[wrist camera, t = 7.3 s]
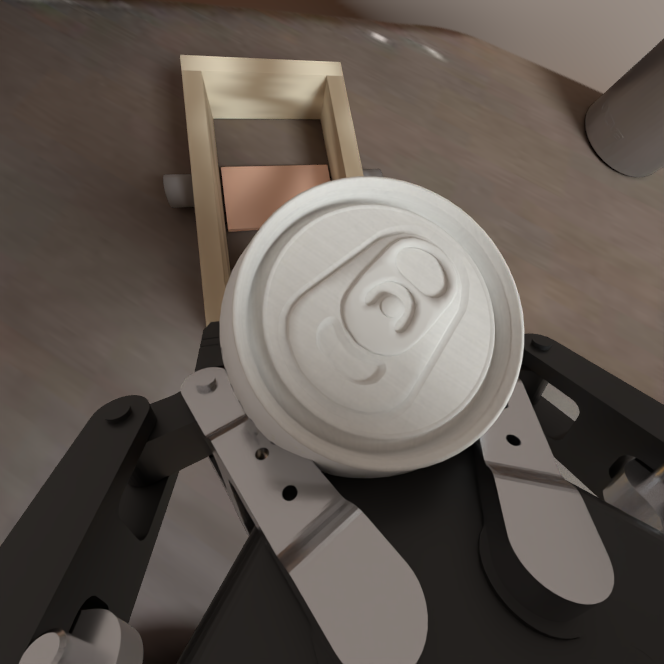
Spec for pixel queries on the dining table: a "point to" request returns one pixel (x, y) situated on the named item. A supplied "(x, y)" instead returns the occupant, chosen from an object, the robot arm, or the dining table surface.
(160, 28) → the dining table surface
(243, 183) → the wooden stick frame
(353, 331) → the beer can
